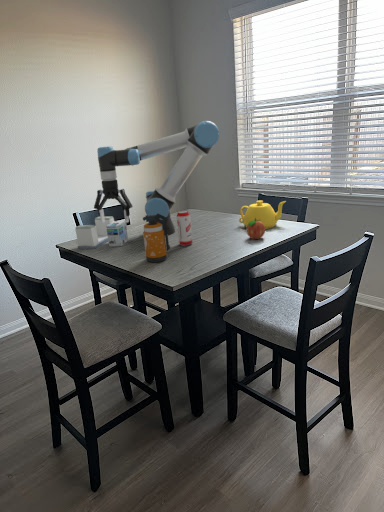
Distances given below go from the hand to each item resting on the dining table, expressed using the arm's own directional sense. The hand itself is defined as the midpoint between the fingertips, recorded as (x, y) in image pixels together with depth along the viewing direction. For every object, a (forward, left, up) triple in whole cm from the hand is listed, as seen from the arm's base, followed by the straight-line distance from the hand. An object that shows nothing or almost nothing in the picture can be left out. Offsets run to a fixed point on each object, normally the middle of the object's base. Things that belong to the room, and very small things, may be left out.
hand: (115, 222), depth 196 cm
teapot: (-69, -32, -11) cm, 77 cm away
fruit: (-69, -9, -11) cm, 70 cm away
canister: (-32, +23, -11) cm, 41 cm away
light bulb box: (0, 0, -11) cm, 11 cm away
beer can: (-37, +1, -11) cm, 39 cm away
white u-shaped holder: (+13, -3, -11) cm, 17 cm away
